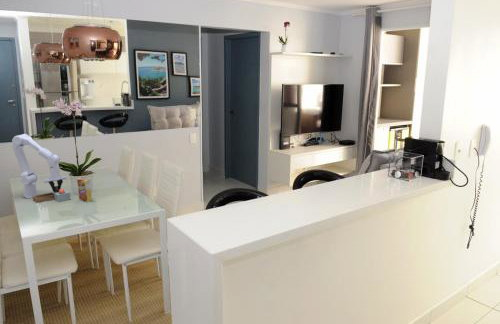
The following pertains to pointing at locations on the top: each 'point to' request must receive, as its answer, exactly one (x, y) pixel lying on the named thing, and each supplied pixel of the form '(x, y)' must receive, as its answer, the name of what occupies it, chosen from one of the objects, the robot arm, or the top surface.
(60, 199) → the button housing
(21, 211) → the top surface
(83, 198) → the candy box
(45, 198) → the rail
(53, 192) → the carriage
